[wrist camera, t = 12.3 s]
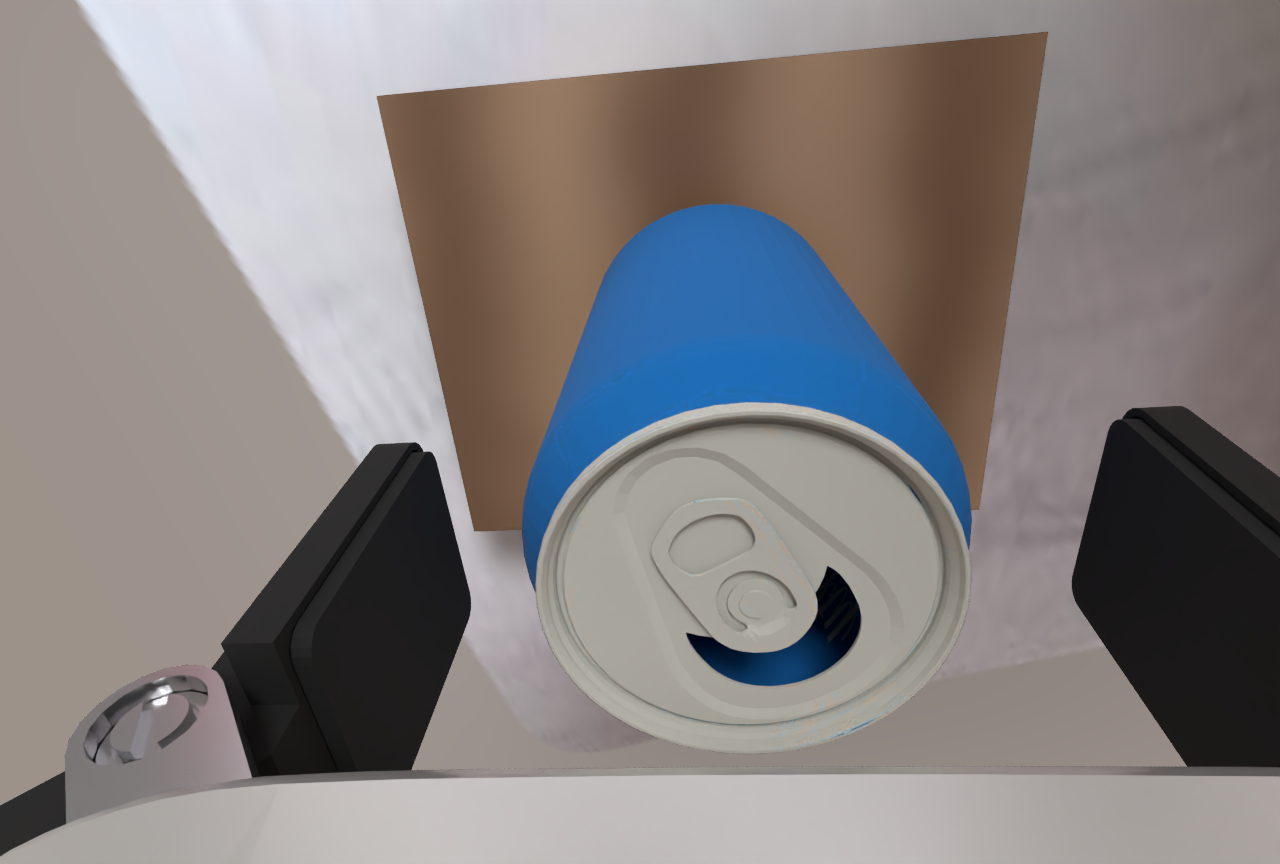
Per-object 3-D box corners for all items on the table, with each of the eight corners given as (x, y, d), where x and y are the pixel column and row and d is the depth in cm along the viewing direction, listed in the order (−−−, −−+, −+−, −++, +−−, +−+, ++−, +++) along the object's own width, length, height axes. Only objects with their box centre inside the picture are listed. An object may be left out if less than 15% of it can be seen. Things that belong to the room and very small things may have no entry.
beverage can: (676, 460, 22) (672, 826, 11) (550, 285, 20) (398, 538, 9) (871, 352, 20) (1084, 669, 10) (756, 146, 18) (866, 260, 7)
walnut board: (996, 36, 19) (1047, 31, 17) (947, 462, 25) (978, 509, 22) (415, 92, 21) (376, 96, 18) (495, 484, 26) (474, 531, 24)
